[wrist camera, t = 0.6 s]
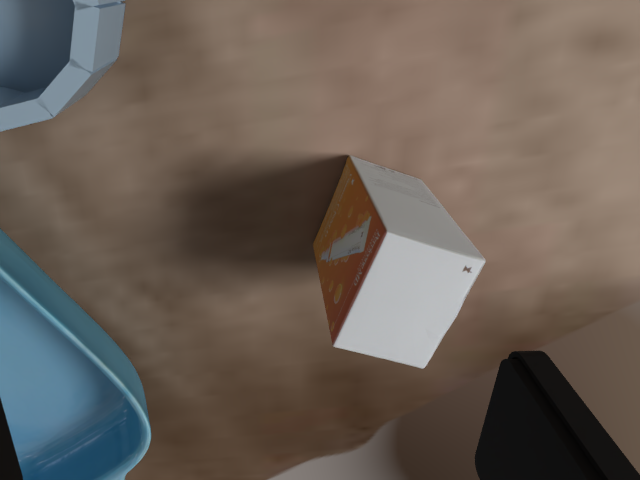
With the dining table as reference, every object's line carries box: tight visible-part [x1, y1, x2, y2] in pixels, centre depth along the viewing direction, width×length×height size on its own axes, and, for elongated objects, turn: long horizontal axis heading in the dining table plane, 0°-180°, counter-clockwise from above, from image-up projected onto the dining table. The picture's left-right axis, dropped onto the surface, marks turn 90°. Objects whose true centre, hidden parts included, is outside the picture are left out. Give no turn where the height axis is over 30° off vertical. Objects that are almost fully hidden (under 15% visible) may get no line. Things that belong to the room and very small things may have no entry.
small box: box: [313, 155, 485, 368], centre depth 35 cm, size 8×6×13 cm
